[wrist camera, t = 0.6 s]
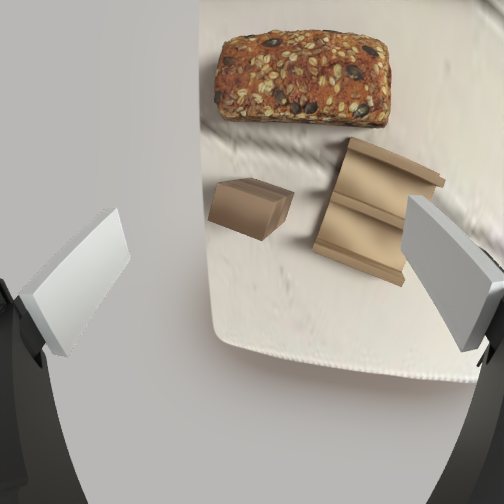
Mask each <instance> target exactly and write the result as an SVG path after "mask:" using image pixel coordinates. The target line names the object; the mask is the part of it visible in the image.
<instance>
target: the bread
mask: <svg viewBox="0 0 504 504" xmlns="http://www.w3.org/2000/svg"><path fill="white" fill-rule="evenodd" d="M222 48H223V49H222V52H221V55H220V57H219V62H218V67H217V70H216V72H215V76H216V78H215V97H214V101H215V103H217V105H218V108H219V111H218V112H219V113H220V114H221V115H222V117H223V118H224V120H230V121H253V122H270V121H273V122H287V123H288V122H294V123H312V124H329V125H342V126H358V127H369V128H384V127H385V126H386V125H387V123H388V116H389V114H390V110H391V91H390V88H391V68H390V65H389V53H388V48H387V46H386V45H385V44H384V43H382V42H381V41H380V40H378V39H374V38H371V37H368V36H365V35H358V34H354V33H341V32H337V31H331V30H323V31H320V30H312V29H311V30H303V31H299V30H297V31H293V32H290V31H284V32H282V31H280V30H272V31H270V32H268V33H264V34H260V35H248V36H239V37H236V38H232V39H231V41H228V42H226V41H225V42H224V45H223V46H222Z"/></svg>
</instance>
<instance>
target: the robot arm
mask: <svg viewBox="0 0 504 504" xmlns="http://www.w3.org/2000/svg"><path fill="white" fill-rule="evenodd" d="M400 250H401V252H402V253H403V255H404V256H405V258H406V259H407V261H408V262H409V264H410V265H411V267H412V268H413V270H414V272H415V273H416V275H417V276H418V278H419V279H420V281H421V283H422V284H423V286H424V287H425V289H426V291H427V292H428V294H429V296H430V297H431V299H432V301H433V302H434V304H435V306H436V307H437V309H438V311H439V313H440V314H441V316H442V318H443V320H444V321H445V323H446V325H447V327H448V329H449V330H450V332H451V334H452V336H453V338H454V340H455V342H456V344H457V346H458V347H459V349H460V351H461V352H465V351H470V350H474V349H478V347H479V346H480V344H481V342H482V340H483V338H484V336H485V335H486V337H487V339H488V340H489V342H490V343H489V345H488V346H487V348H486V350H485V352H484V353H483V355H482V357H481V359H480V360H479V362H478V364H477V367H479V366H480V364H481V363H482V366H481V370H480V374H479V378H478V381H477V385H476V388H475V392H474V395H473V398H472V401H471V404H470V407H469V410H468V413H467V416H466V419H465V422H464V424H463V427H462V430H461V432H460V435H459V437H458V440H457V442H456V444H455V447H454V449H453V451H452V454H451V456H450V458H449V461H448V462H447V465H446V467H445V469H444V471H443V473H442V475H441V477H440V479H439V481H438V483H437V485H436V486H435V489H434V490H433V492H432V494H431V496H430V498H429V499H428V501H427V503H426V504H504V270H503V269H502V267H501V266H500V267H499V264H498V263H497V262H496V261H495V260H493V258H492V257H491V256H490V255H489V254H488V253H487V252H486V251H485V250H483V249H482V248H480V247H479V246H477V245H476V244H475V243H474V242H473V241H472V240H471V239H470V238H469V237H468V236H467V235H466V234H465V233H464V232H463V231H462V230H461V229H460V228H459V227H458V226H457V225H456V224H455V223H453V222H452V221H451V220H450V219H449V218H448V217H447V216H446V215H445V214H444V213H442V212H441V211H440V210H439V209H438V208H437V207H436V206H434V205H433V204H432V203H431V202H430V201H429V200H427V199H426V198H425V197H424V196H423V195H408V200H407V208H406V215H405V222H404V229H403V235H402V241H401V247H400ZM130 259H131V257H130V254H129V250H128V247H127V243H126V240H125V236H124V232H123V229H122V225H121V221H120V217H119V213H118V210H117V208H110V209H104V210H102V212H100V213H99V214H98V215H97V216H96V217H94V218H93V219H92V220H91V221H90V222H89V223H88V224H87V225H86V226H84V227H83V228H82V229H81V230H80V231H79V232H78V233H77V234H76V235H75V236H74V237H73V238H72V239H70V241H69V242H67V243H66V244H65V245H64V246H63V247H62V248H61V249H60V250H59V251H58V252H57V253H56V254H55V255H54V256H53V257H52V258H51V259H50V260H49V261H48V262H47V263H46V264H45V265H44V266H43V267H42V268H41V269H40V270H39V271H38V272H37V274H36V275H35V276H34V277H33V278H32V279H31V280H30V281H29V282H28V283H27V284H26V285H25V286H24V288H23V289H22V290H21V291H20V292H19V295H18V296H17V297H16V299H15V300H13V298H12V297H11V295H10V292H9V291H8V288H7V286H6V284H5V282H4V280H3V279H0V504H88V502H87V500H86V497H85V495H84V492H83V490H82V488H81V485H80V483H79V480H78V478H77V475H76V472H75V470H74V467H73V464H72V461H71V458H70V456H69V452H68V449H67V446H66V443H65V439H64V436H63V433H62V429H61V425H60V422H59V418H58V414H57V410H56V406H55V402H54V397H53V393H52V388H51V383H50V378H49V372H48V366H47V360H46V356H45V353H44V352H43V350H42V347H43V346H44V344H45V343H46V344H47V345H48V347H49V349H50V350H51V352H52V353H53V354H54V355H59V356H64V357H68V356H69V354H70V353H71V351H72V349H73V347H74V346H75V344H76V343H77V341H78V339H79V338H80V336H81V334H82V333H83V331H84V329H85V328H86V326H87V324H88V323H89V321H90V320H91V318H92V316H93V315H94V313H95V312H96V310H97V308H98V307H99V305H100V303H101V302H102V301H103V299H104V298H105V296H106V295H107V293H108V291H109V290H110V289H111V287H112V286H113V284H114V283H115V281H116V280H117V278H118V277H119V275H120V274H121V272H122V271H123V269H124V268H125V266H126V265H127V263H128V262H129V261H130Z"/></svg>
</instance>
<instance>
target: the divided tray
mask: <svg viewBox="0 0 504 504" xmlns="http://www.w3.org/2000/svg"><path fill="white" fill-rule="evenodd" d="M439 175H440V174H439V173H437V172H435V171H433V170H430V169H428V168H426V167H424V166H422V165H420V164H418V163H415V162H413V161H411V160H409V159H406V158H404V157H402V156H400V155H397V154H395V153H392V152H390V151H388V150H385V149H383V148H380V147H378V146H375V145H373V144H370V143H368V142H365V141H362V140H360V139H357V138H354V137H351V139H350V141H349V144H348V149H347V152H346V155H345V158H344V161H343V164H342V167H341V170H340V173H339V176H338V179H337V182H336V185H335V188H334V190H333V192H332V195H331V198H330V202H329V205H328V208H327V211H326V214H325V217H324V219H323V222H322V225H321V228H320V230H319V233H318V236H317V238H316V240H315V243H314V245H313V248H312V250H311V251H313V252H316V253H318V254H321V255H323V256H326V257H328V258H331V259H333V260H336V261H338V262H341V263H343V264H346V265H348V266H351V267H353V268H356V269H358V270H361V271H363V272H366V273H368V274H371V275H373V276H376V277H378V278H381V279H383V280H386V281H388V282H390V283H393V284H395V285H398V286H400V287H402V285H403V283H404V281H405V278H404V276H403V274H402V272H401V271H402V269H403V267H404V265H405V263H406V261H407V259H406V258H405V256H404V255H403V253H402V252H401V250H400V247H401V241H402V235H403V229H404V222H405V215H406V208H407V200H408V195H423V196H424V197H425V198H426V199H427V200H429V201H430V202H431V199H432V196H433V193H434V190H435V187H436V186H438V187H442V188H443V186H444V183H445V179H443V178H441V177H439Z"/></svg>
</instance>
